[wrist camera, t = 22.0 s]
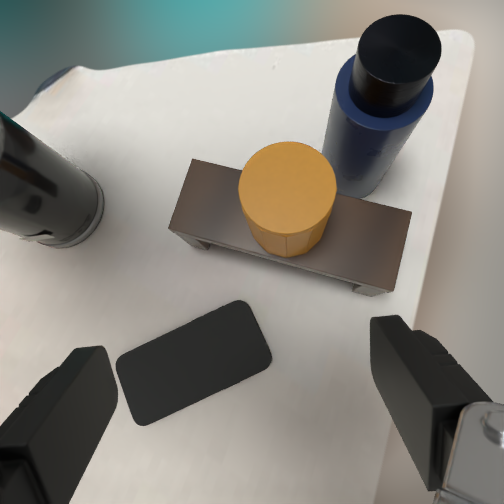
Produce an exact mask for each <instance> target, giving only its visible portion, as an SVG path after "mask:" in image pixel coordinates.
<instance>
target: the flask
mask: <svg viewBox="0 0 504 504" xmlns="http://www.w3.org/2000/svg"><path fill="white" fill-rule="evenodd" d="M440 57H441V41H440V38H439V36H438V34H437V32H436V31H435V30H434V29H433V28H432V26H431V25H429V24H428V23H427V22H425V21H423V20H422V19H420V18H417V17H414V16H410V15H402V14H399V15H391V16H386V17H383V18H381V19H379V20H377V21H375V22H374V23H372V24H371V25H370V26H369V27H368V28H367V29H366V30H365V31H364V33H363V34H362V36H361V38H360V41H359V44H358V48H357V52H356V54H355V55H353V56H352V57H351V58H350V59H348V61H347V62H346V63H345V64H344V65H343V66H342V68H341V69H340V71H339V73H338V76H337V79H336V84H335V89H334V94H333V99H332V104H331V109H330V114H329V119H328V124H327V129H326V134H325V139H324V144H323V149H322V155H323V156H324V157H325V158H326V159H327V161H328V162H329V163H330V165H331V167H332V169H333V171H334V174H335V178H336V186H337V192H336V194H340V195H345V196H349V197H353V198H357V199H360V198H363V197H365V196H367V195H369V194H370V193H371V192H372V191H373V190H374V189H375V188H376V187H377V185H378V184H379V182H380V180H381V179H382V177H383V176H384V174H385V173H386V171H387V170H388V168H389V167H390V165H391V164H392V162H393V161H394V159H395V157H396V156H397V154H398V153H399V151H400V150H401V148H402V147H403V145H404V144H405V142H406V141H407V139H408V138H409V136H410V135H411V133H412V131H413V130H414V128H415V127H416V125H417V124H418V122H419V121H420V119H421V118H422V116H423V115H424V113H425V112H426V110H427V108H428V107H429V105H430V103H431V100H432V97H433V80H432V76H431V75H432V73H433V71H434V70H435V68H436V66H437V64H438V62H439V60H440Z"/></svg>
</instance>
